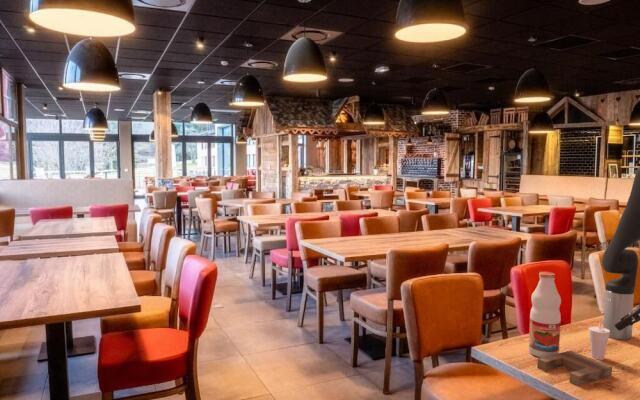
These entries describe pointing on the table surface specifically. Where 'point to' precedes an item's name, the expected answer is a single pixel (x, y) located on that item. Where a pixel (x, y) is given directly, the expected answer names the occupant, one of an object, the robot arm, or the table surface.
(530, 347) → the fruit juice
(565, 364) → the notched board
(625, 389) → the table surface
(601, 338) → the smoothie
